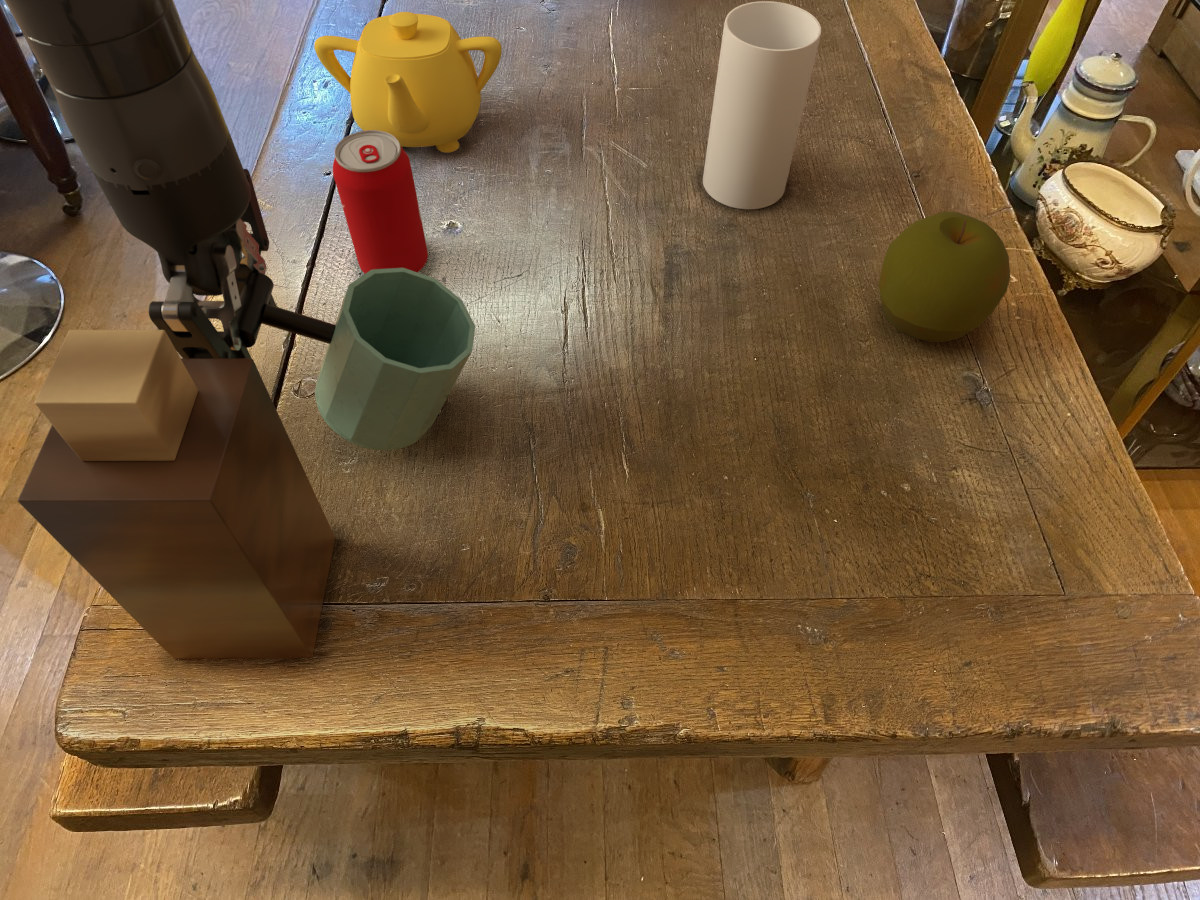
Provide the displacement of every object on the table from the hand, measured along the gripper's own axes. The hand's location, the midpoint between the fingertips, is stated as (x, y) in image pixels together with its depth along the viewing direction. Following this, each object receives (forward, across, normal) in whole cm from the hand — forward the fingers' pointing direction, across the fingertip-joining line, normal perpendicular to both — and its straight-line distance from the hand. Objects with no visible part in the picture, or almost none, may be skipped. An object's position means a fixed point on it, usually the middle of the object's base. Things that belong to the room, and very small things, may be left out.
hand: (253, 346), depth 61 cm
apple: (+8, -11, +53) cm, 55 cm away
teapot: (+8, -36, +6) cm, 38 cm away
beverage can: (+8, -18, +6) cm, 20 cm away
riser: (+8, +16, +2) cm, 18 cm away
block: (-11, +16, +2) cm, 19 cm away
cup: (+8, -30, +39) cm, 50 cm away
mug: (+5, 0, +5) cm, 7 cm away
